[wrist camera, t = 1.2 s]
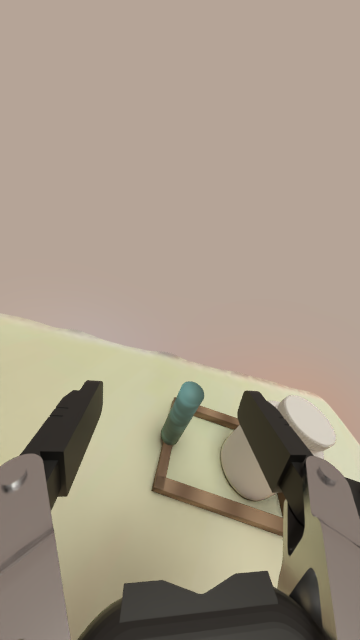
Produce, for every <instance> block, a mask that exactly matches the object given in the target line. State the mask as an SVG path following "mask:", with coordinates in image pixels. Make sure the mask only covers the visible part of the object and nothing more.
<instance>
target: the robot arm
mask: <svg viewBox="0 0 360 640" xmlns="http://www.w3.org/2000/svg"><path fill="white" fill-rule="evenodd" d="M102 406H103V382H102V381H90V380H87V381H86V382H85V383H84V385H83V386H82V388H81V389H80V391H77V390H73V391H72V392H70V393H69V394H67V395H66V396H65V397H63V398H62V400H61V401H60V402H59V404H58V405H57V406H56V409H54V411H53V412H52V413H51V415H50V417H48V419H47V420H46V421H45V423H44V424H43V425H42V427H41V428H40V429H39V431H38V432H37V433H36V435H35V436H34V437H33V439H32V440H31V441H30V443H29V444H28V445H27V447H26V448H25V449H24V451H23V452H22V453H21V454H20V455H19V456H17V457H15V458H13V459H11V460H9V461H7V462H6V463H4V464H3V465H2V466H0V640H71V638H70V632H69V625H68V619H67V612H66V606H65V599H64V593H63V586H62V580H61V573H60V566H59V560H58V553H57V547H56V540H55V534H54V529H53V523H52V517H51V510H52V508H53V505H54V503H55V501H56V499H57V497H63V496H67V495H68V493H69V491H70V488H71V486H72V483H73V481H74V479H75V476H76V474H77V471H78V469H79V466H80V464H81V462H82V459H83V457H84V454H85V452H86V449H87V447H88V445H89V442H90V440H91V437H92V435H93V433H94V430H95V428H96V425H97V423H98V420H99V418H100V415H101V411H102ZM238 421H239V424H240V426H241V428H242V430H243V432H244V434H245V436H246V438H247V441H248V443H249V445H250V447H251V449H252V451H253V453H254V455H255V457H256V460H257V462H258V464H259V466H260V468H261V470H262V472H263V474H264V476H265V479H266V481H267V483H268V485H269V487H270V489H271V491H272V493H283V494H284V496H285V498H286V499H285V501H284V516H283V560H282V567H281V571H280V575H279V580H278V587H277V588H275V587H273V585H272V582H271V579H270V576H269V573H268V571H260V572H249V573H238V574H234V575H233V576H231V577H229V578H228V579H226V580H225V581H223V582H222V583H220V584H219V585H217V586H216V587H214V588H213V589H211V590H209V591H208V592H206V593H204V594H198V593H195V592H192V591H190V590H187V589H184V588H182V587H179V586H176V585H174V584H171V583H169V582H166V581H163V580H159V581H148V582H137V583H125V584H124V589H123V597H122V598H121V599H119V600H117V601H116V602H114V603H112V604H111V605H110V606H108V607H107V608H106V609H105V610H103V611H102V612H101V613H100V614H99V615H98V616H97V617H96V618H95V619H94V620H93V621H92V622H91V623H90V625H89V626H88V627H87V628H86V629H85V631H84V632H83V633H82V634H81V636H80V637H79V638H78V640H360V482H357V481H354V480H351V479H348V478H345V477H344V476H343V475H342V474H341V473H340V472H339V471H338V470H337V469H336V468H335V467H334V466H333V465H332V464H330V463H329V462H327V461H326V460H324V459H322V458H319V457H316V456H314V455H313V454H312V453H311V451H310V450H309V449H308V448H307V446H306V445H305V444H304V443H303V441H302V440H301V439H300V437H299V436H298V435H297V434H296V432H295V431H294V430H293V428H292V427H291V426H289V423H288V422H287V421H286V419H284V417H283V416H282V414H281V413H280V412H279V411H278V409H277V408H276V407H274V406H273V405H272V404H271V403H270V402H268V401H266V400H265V398H264V397H263V396H262V394H261V393H260V392H258V391H245V392H244V393H243V396H242V399H241V402H240V406H239V409H238Z"/></svg>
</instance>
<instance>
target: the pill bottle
mask: <svg viewBox="0 0 360 640" xmlns="http://www.w3.org/2000/svg"><path fill="white" fill-rule="evenodd" d="M268 402H270V403H271V404H272V405H273V406H274V407H276V408H277V409H278V411H279V412H280V413H281V414H282V416H283V417H284V419H286V421H287V422H288V423H289V426H291V427H292V428H293V430H294V431H295V432H296V434H297V435H298V436H299V437H300V439H301V440H302V441H303V443H304V444H305V445H306V446H307V448H308V449H309V450H310V451H311V453H312V454H313V455H314V456H316V457H319V458H322V459H324V453H323V451H324V450H326V449H328V448H330V447H331V446H333V445H334V444H335V441H336V435H335V431H334V429H333V427H332V425H331V423H330V421H329V420H328V419H327V417H326V416H325V415H324V414H323V413H322V412H321V411H320V410H319V409H318V408H317V407H316V406H315V405H314V404H312V403H311V402H309V401H308V400H306V399H304V398H302V397H300V396H296V395H289V396H287V397H286V398H285V399H283V400H282V401H281V402H277V401H268ZM221 463H222V467H223V470H224V473H225V476H226V478H227V479H228V481H229V483H230V484H231V486H232V487H233V488H234V489H235V490H236V491H237V492H238V493H239V494H240V495H241V496H243V497H244V498H246V499H249V500H252V501H259V500H263V499H266V498H268V497H270V496H272V495H274V494H276V493H272V491H271V489H270V487H269V485H268V483H267V481H266V479H265V476H264V474H263V472H262V470H261V468H260V466H259V464H258V462H257V460H256V457H255V455H254V453H253V451H252V449H251V447H250V445H249V443H248V441H247V438H246V436H245V434H244V432H243V430H242V428H241V426H240V425H239V426H238V427H237V428H236V429H235V430H234V431H233V432H232V433H231V434H230V435H229V436H228V437H227V439H226V440H225V442H224V443H223V446H222V449H221Z"/></svg>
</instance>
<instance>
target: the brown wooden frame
mask: <svg viewBox="0 0 360 640" xmlns="http://www.w3.org/2000/svg"><path fill="white" fill-rule="evenodd" d="M203 399H204V392H203V389H202V388H201V387H200V386H199V385H198V384H197V383H195V382H185V383H184V384H183V385H182V387H181V389H180V391H179V393H178V396H177V398H176V397H175V398H174V400H173V402H172V406H171V411H170V413H169V415H168V418H167V420H166V422H165V424H164V426H163V428H162V431H161V438H162V440H163V445H162V449H161V453H160V457H159V462H158V466H157V470H156V474H155V478H154V483H153V487H152V491H154V492H157V493H159V494H162V495H165V496H168V497H171V498H174V499H177V500H180V501H183V502H185V503H188V504H191V505H194V506H197V507H200V508H203V509H206V510H209V511H211V512H214V513H217V514H220V515H223V516H226V517H229V518H232V519H235V520H237V521H240V522H243V523H246V524H249V525H252V526H255V527H258V528H261V529H263V530H266V531H269V532H272V533H275V534H278V535H281V536H283V518H281V517H278V516H276V515H273V514H270V513H267V512H264V511H261V510H258V509H255V508H252V507H250V506H247V505H244V504H241V503H238V502H235V501H232V500H229V499H226V498H223V497H221V496H218V495H215V494H212V493H209V492H206V491H203V490H200V489H197V488H195V487H192V486H189V485H186V484H183V483H180V482H177V481H174V480H171V479H168V478H166V475H167V469H168V464H169V459H170V454H171V449H172V445H174V444H176V443H177V441H178V440H179V438H180V437H181V435H182V433H183V432H184V430H185V428H186V427H187V425H188V423H189V422H190V420H191V419H192V417H193V416H196V417H199V418H202V419H205V420H208V421H211V422H214V423H216V424H219V425H222V426H225V427H228V428H231V429H234V430H235V429H236V428H237V427H238V426H239V425H240V424H239V421H238V418H235V417H232V416H229V415H226V414H223V413H220V412H217V411H214V410H211V409H208V408H205V407H202V406H199V405H200V404H201V402H202V401H203ZM278 497H279V502H280V506H281V511H282V515H283V516H284V501H285V499H286V498H285V496H284V494H283V493H278Z"/></svg>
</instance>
